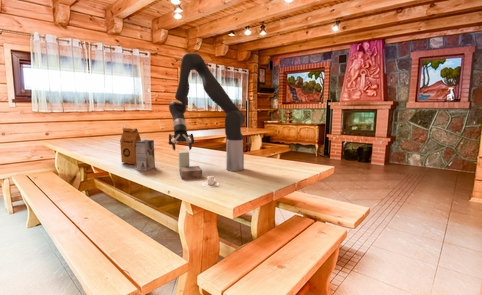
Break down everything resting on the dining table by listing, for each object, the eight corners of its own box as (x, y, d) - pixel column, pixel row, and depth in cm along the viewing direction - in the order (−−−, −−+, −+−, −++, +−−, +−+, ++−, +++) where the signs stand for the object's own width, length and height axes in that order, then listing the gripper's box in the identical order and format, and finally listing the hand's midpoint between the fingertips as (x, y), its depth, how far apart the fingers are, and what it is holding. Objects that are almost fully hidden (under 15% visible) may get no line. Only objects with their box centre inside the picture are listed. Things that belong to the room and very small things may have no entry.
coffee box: (145, 166, 157) (144, 139, 154) (155, 167, 156) (154, 140, 153) (136, 170, 148) (134, 141, 145) (146, 170, 147) (145, 142, 144)
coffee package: (133, 165, 158) (131, 129, 155) (119, 163, 163) (116, 128, 160) (146, 162, 167) (144, 127, 163) (132, 160, 172) (130, 127, 169)
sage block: (188, 170, 149) (187, 150, 147) (189, 172, 144) (189, 152, 143) (179, 170, 147) (178, 151, 146) (180, 172, 143) (179, 152, 141)
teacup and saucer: (210, 181, 129) (210, 173, 128) (223, 184, 124) (223, 175, 124) (198, 185, 122) (198, 177, 121) (211, 188, 117) (211, 179, 117)
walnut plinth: (198, 173, 143) (198, 165, 142) (202, 177, 133) (202, 170, 133) (179, 174, 139) (179, 167, 139) (182, 179, 130) (181, 171, 129)
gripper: (167, 123, 154) (169, 145, 145) (192, 123, 159) (195, 145, 150) (167, 131, 160) (169, 153, 151) (191, 131, 164) (194, 152, 155)
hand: (182, 149), depth 150 cm, fingers open, 8 cm apart
